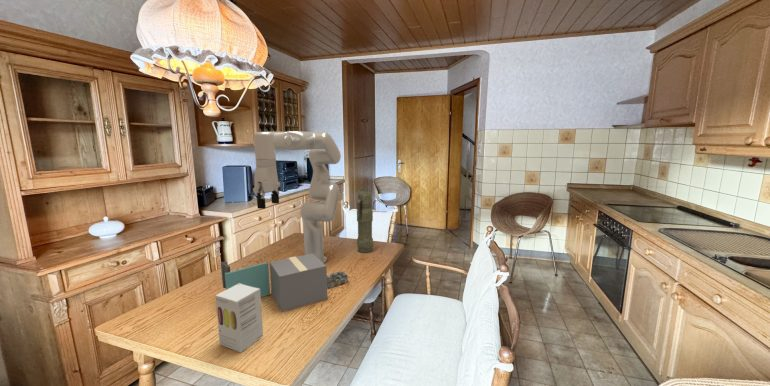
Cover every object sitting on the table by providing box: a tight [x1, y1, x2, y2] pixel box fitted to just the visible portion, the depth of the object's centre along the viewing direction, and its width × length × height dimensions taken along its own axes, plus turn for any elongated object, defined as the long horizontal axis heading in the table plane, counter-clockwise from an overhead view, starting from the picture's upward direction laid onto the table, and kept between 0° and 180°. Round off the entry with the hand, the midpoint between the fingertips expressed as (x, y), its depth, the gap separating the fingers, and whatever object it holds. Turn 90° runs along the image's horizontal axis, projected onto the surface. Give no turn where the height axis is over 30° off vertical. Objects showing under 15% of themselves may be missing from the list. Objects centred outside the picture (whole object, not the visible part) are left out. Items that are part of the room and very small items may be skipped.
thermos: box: [356, 188, 374, 254], centre depth 177 cm, size 9×12×35 cm
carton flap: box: [220, 261, 271, 298], centre depth 125 cm, size 16×8×16 cm, turn 132°
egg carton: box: [327, 269, 350, 289], centre depth 140 cm, size 11×8×4 cm
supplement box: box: [215, 283, 264, 353], centre depth 99 cm, size 10×9×17 cm
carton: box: [269, 253, 328, 313], centre depth 127 cm, size 16×18×14 cm
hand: (268, 205), depth 128 cm, fingers open, 9 cm apart
